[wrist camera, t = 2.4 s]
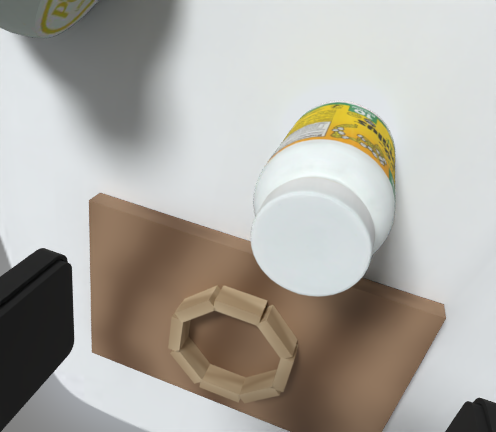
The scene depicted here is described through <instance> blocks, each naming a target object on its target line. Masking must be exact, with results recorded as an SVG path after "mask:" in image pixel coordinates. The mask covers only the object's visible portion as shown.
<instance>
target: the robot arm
mask: <svg viewBox="0 0 496 432" xmlns="http://www.w3.org/2000/svg"><path fill="white" fill-rule="evenodd" d="M73 345H74V318H73V288H72V266H71V264H69V263H68V261H67V258H66V256H65V255H62V254H59V253H56V252H53V251H50V250H48V249H45V248H41V249H38V250H36V251H35V252H34V253H32V254H31V255H30V256H28V257H27V258H25V259H24V260H23V261H21V262H20V263H19V264H17V265H16V266H14V267H13V268H12V269H10V270H9V271H8V272H6V273H5V274H3V275H2V276H1V277H0V432H1V431H2V430H3V428H4V427H5V426H6V425H7V424H8V423H9V422H10V421H11V420H12V418H13V417H14V416H15V415H16V414H17V413H18V412H19V410H20V409H21V408H22V407H23V406H24V405H25V404H26V402H27V401H28V400H29V399H30V398H31V397H32V396H33V395H34V393H35V392H36V391H37V390H38V389H39V388H40V387H41V385H42V384H43V383H44V382H45V381H46V380H47V379H48V378H49V376H50V375H51V374H52V373H53V372H54V371H55V370H56V369H57V367H58V366H59V365H60V364H61V363H62V362H63V361H64V359H65V358H66V357H67V356H68V355H69V353H70V352H71V350H72V348H73ZM445 432H496V403H494V402H491V401H488V400H485V399H482V398H477V399H476V400H475V401H474V402H473V403H472V402H469V401H467V402H465V403H464V405H463V406H462V408H461V409H460V411H459V412H458V414H457V415H456V416H455V418H454V419H453V421H452V422H451V424H450V425H449V427H448V428H447V430H446V431H445Z"/></svg>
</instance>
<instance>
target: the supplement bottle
mask: <svg viewBox="0 0 496 432" xmlns="http://www.w3.org/2000/svg"><path fill="white" fill-rule="evenodd" d="M253 207H254V214H255V219H254V222H253V225H252V229H251V247H252V251H253V254H254V257H255V259H256V261H257V263H258V265H259V266H260V268H261V269H262V270H263V272H264V273H265V274H266V275H267V276H268V277H269V278H270V279H271V280H273V281H274V282H275V283H277V284H278V285H280V286H281V287H283V288H285V289H287V290H290V291H292V292H295V293H297V294H301V295H307V296H317V297H319V296H329V295H334V294H337V293H340V292H343V291H345V290H347V289H349V288H350V287H352V286H353V285H355V284H356V283H357V282H358V281H359V280H360V279H361V278H362V277H363V276H364V274H365V272H366V271H367V269H368V267H369V264H370V262H371V258H372V255H373V254H374V253H375V252H376V251H377V250H378V249H379V248H380V247H381V245H382V244H383V243H384V241H385V240H386V238H387V236H388V234H389V232H390V230H391V227H392V224H393V220H394V214H395V146H394V141H393V138H392V135H391V133H390V130H389V128H388V127H387V125H386V124H385V122H384V121H383V120H382V119H381V118H380V117H379V116H378V115H377V114H376V113H374V112H373V111H371V110H369V109H367V108H365V107H363V106H361V105H359V104H356V103H353V102H348V101H331V102H326V103H323V104H320V105H318V106H316V107H314V108H312V109H311V110H309V111H308V112H306V113H305V114H304V115H303V116H302V117H301V118H300V119H299V120H298V121H297V122H296V123H295V125H294V126H293V127H292V129H291V130H290V131H289V133H288V134H287V136H286V137H285V139H284V140H283V142H282V143H281V144H280V146H279V147H278V148H277V150H276V151H275V153H274V154H273V156H272V157H271V158H270V160H269V161H268V163H267V164H266V165H265V167H264V169H263V170H262V172H261V174H260V176H259V178H258V180H257V183H256V186H255V190H254V198H253Z"/></svg>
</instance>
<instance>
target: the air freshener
mask: <svg viewBox="0 0 496 432" xmlns="http://www.w3.org/2000/svg"><path fill="white" fill-rule="evenodd" d="M98 1H99V0H0V28H2V29H5V30H7V31H9V32H12V33H16V34H20V35H24V36H28V37H35V38H50V37H53V36H56V35H58V34H60V33H62V32H64V31H66V30H67V29H69V28H70V27H71V26H72V25H74V24H75V23H76V22H77V21H79V20H80V19H81V18H82V17H83V16H84V15H85V14H86V13H87V12H88V11H89V10H90V9H91V8H92V7H93V6H94V5H95V4H96V3H97V2H98Z"/></svg>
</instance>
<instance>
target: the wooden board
mask: <svg viewBox="0 0 496 432" xmlns="http://www.w3.org/2000/svg"><path fill="white" fill-rule="evenodd" d="M89 229H90V281H91V333H92V353H95V354H97V355H100V356H102V357H105V358H107V359H110V360H112V361H115V362H117V363H120V364H122V365H125V366H127V367H130V368H132V369H135V370H137V371H140V372H142V373H145V374H147V375H150V376H152V377H155V378H157V379H160V380H162V381H165V382H168V383H170V384H173V385H175V386H178V387H180V388H183V389H185V390H188V391H190V392H193V393H195V394H198V395H200V396H203V397H205V398H208V399H210V400H213V401H215V402H218V403H220V404H223V405H225V406H228V407H230V408H233V409H235V410H238V411H240V412H243V413H245V414H248V415H250V416H253V417H255V418H258V419H260V420H263V421H265V422H268V423H270V424H273V425H275V426H278V427H280V428H283V429H285V430H288V431H290V432H382V430H383V429H384V427H385V425H386V423H387V422H388V420H389V418H390V416H391V415H392V413H393V411H394V409H395V407H396V406H397V404H398V402H399V400H400V399H401V397H402V395H403V393H404V392H405V390H406V388H407V386H408V384H409V383H410V381H411V379H412V377H413V376H414V374H415V372H416V370H417V369H418V367H419V365H420V363H421V361H422V360H423V358H424V356H425V354H426V353H427V351H428V349H429V347H430V346H431V344H432V342H433V340H434V338H435V337H436V335H437V333H438V331H439V330H440V328H441V326H442V324H443V323H444V321H445V319H446V315H445V309H444V304H441V303H438V302H435V301H432V300H429V299H426V298H422V297H419V296H416V295H413V294H410V293H407V292H404V291H401V290H398V289H395V288H392V287H389V286H386V285H382V284H379V283H376V282H373V281H370V280H367V279H364V278H361V279H360V280H359V281H358V282H357V283H356V284H355V285H353V286H352V287H350V288H349V289H347V290H345V291H343V292H340V293H337V294H334V295H329V296H319V297H317V296H307V295H301V294H297V293H295V292H292V291H290V290H287V289H285V288H283V287H281V286H280V285H278V284H277V283H275V282H274V281H273V280H271V279H270V278H269V277H268V276H267V275H266V274H265V273H264V272H263V270H262V269H261V268H260V266H259V265H258V263H257V261H256V259H255V257H254V254H253V251H252V247H251V242H250V241H247V240H244V239H241V238H238V237H235V236H232V235H229V234H226V233H222V232H219V231H216V230H213V229H210V228H207V227H204V226H201V225H198V224H195V223H192V222H189V221H186V220H182V219H179V218H176V217H173V216H170V215H167V214H164V213H161V212H158V211H155V210H152V209H149V208H146V207H143V206H139V205H136V204H133V203H130V202H127V201H124V200H121V199H118V198H115V197H112V196H109V195H106V194H103V193H99V194H98V195H96V196H95V197H93V198H92V199H90V200H89Z"/></svg>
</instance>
